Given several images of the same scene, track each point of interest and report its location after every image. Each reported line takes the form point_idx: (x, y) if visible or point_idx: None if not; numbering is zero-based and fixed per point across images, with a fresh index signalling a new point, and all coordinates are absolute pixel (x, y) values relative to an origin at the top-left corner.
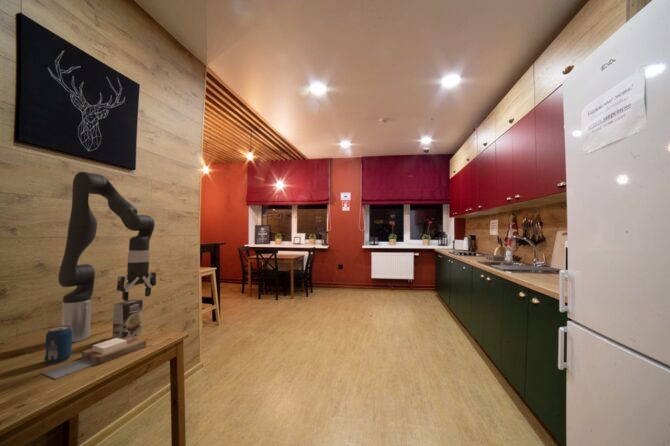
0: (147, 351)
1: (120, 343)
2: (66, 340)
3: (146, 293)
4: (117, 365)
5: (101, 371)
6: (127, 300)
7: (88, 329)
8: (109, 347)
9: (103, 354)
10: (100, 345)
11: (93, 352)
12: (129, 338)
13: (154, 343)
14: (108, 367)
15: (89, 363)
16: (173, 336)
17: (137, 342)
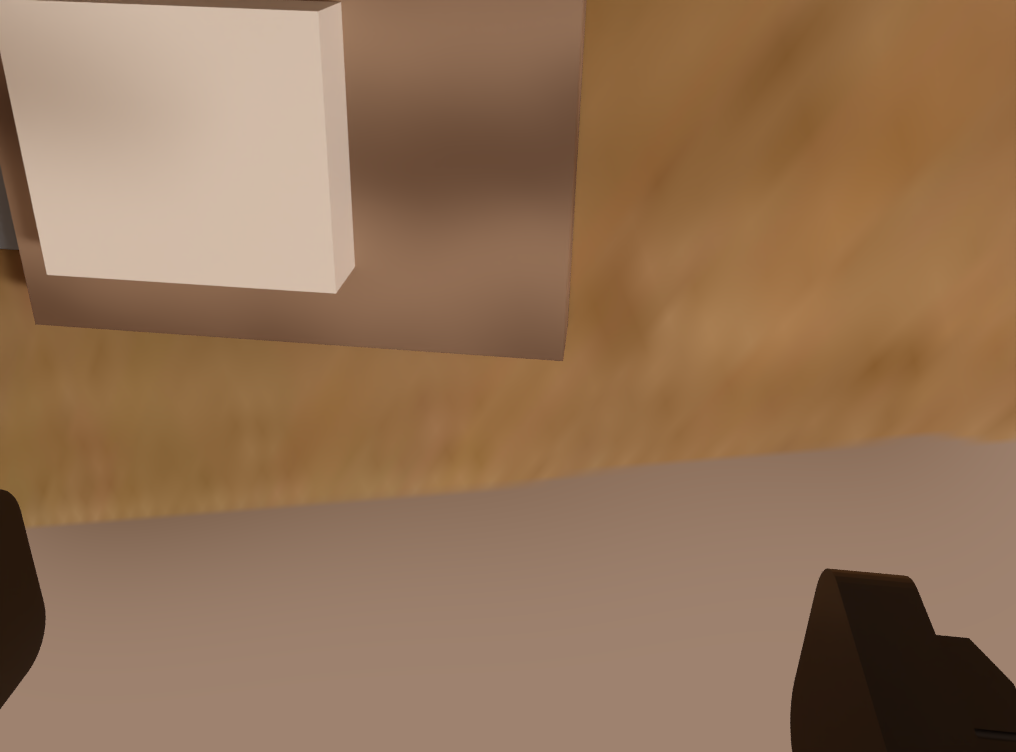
0: (492, 446)
1: (253, 286)
2: None
3: (830, 735)
4: (167, 464)
5: (40, 445)
6: (17, 641)
7: None
8: (123, 274)
9: None
10: (55, 121)
11: None
12: (534, 16)
13: (694, 317)
14: (104, 427)
15: (2, 184)
16: (984, 342)
17: (482, 297)
